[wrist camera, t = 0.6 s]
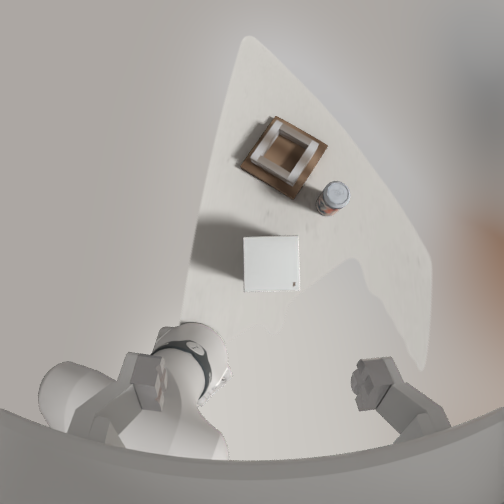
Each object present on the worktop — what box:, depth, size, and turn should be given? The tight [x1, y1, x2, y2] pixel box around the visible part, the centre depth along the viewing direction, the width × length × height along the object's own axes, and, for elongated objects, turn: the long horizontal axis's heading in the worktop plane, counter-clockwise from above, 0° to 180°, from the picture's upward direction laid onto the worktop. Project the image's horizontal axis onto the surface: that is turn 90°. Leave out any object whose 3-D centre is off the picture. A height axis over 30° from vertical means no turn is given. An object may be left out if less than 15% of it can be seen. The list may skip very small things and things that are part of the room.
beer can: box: [316, 181, 350, 216], centre depth 55 cm, size 5×5×12 cm
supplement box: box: [243, 235, 300, 292], centre depth 54 cm, size 9×9×15 cm
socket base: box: [240, 116, 328, 200], centre depth 60 cm, size 14×13×4 cm
